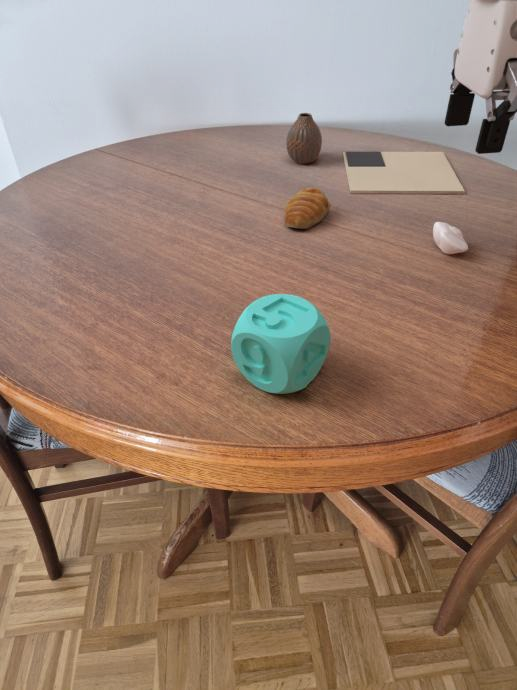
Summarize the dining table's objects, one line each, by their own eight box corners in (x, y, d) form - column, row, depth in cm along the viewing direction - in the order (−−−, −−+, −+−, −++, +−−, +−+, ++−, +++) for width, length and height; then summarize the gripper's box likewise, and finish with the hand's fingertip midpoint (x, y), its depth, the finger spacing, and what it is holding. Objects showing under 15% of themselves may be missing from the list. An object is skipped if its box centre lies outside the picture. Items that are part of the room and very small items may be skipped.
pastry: (314, 235, 85) (315, 213, 83) (274, 228, 87) (274, 206, 85) (332, 210, 92) (333, 188, 89) (294, 203, 94) (295, 182, 91)
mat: (442, 154, 109) (443, 150, 109) (464, 194, 96) (465, 189, 95) (342, 154, 110) (342, 150, 110) (350, 193, 97) (350, 189, 96)
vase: (326, 157, 109) (329, 112, 103) (310, 169, 105) (312, 123, 99) (296, 151, 112) (298, 106, 106) (279, 162, 107) (280, 117, 102)
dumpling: (421, 241, 84) (429, 216, 82) (452, 246, 85) (461, 221, 83) (438, 258, 78) (447, 231, 76) (471, 262, 79) (481, 236, 77)
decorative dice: (328, 365, 63) (334, 310, 57) (288, 406, 58) (290, 349, 53) (273, 338, 66) (273, 284, 61) (231, 374, 62) (227, 319, 57)
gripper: (588, -10, 53) (532, 162, 64) (504, -32, 66) (470, 114, 77) (514, -7, 52) (471, 166, 63) (445, -30, 65) (419, 117, 76)
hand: (471, 138), depth 70 cm, fingers open, 9 cm apart
